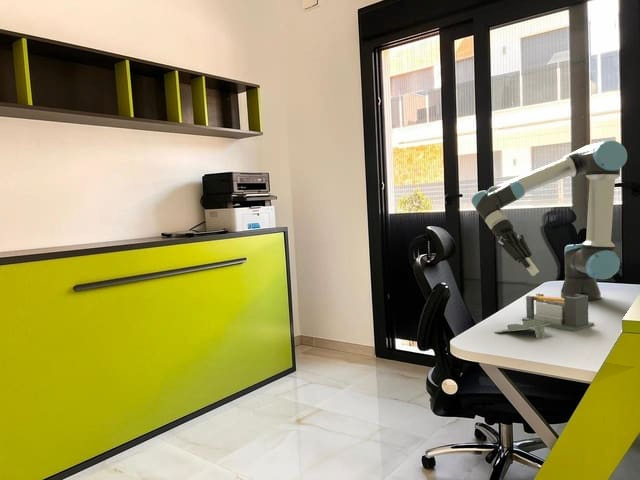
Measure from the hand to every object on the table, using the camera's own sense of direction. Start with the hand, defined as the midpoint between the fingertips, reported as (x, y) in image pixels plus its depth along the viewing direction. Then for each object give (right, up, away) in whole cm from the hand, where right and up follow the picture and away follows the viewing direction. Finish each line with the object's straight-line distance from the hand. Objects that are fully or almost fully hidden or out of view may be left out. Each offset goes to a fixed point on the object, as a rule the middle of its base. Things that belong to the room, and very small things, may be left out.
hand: (535, 273), depth 177 cm
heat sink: (+3, -16, -5) cm, 17 cm away
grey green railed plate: (+4, -17, -7) cm, 19 cm away
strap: (+4, -9, -7) cm, 12 cm away
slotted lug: (+8, -16, -14) cm, 23 cm away
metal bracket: (-11, -19, -17) cm, 28 cm away
